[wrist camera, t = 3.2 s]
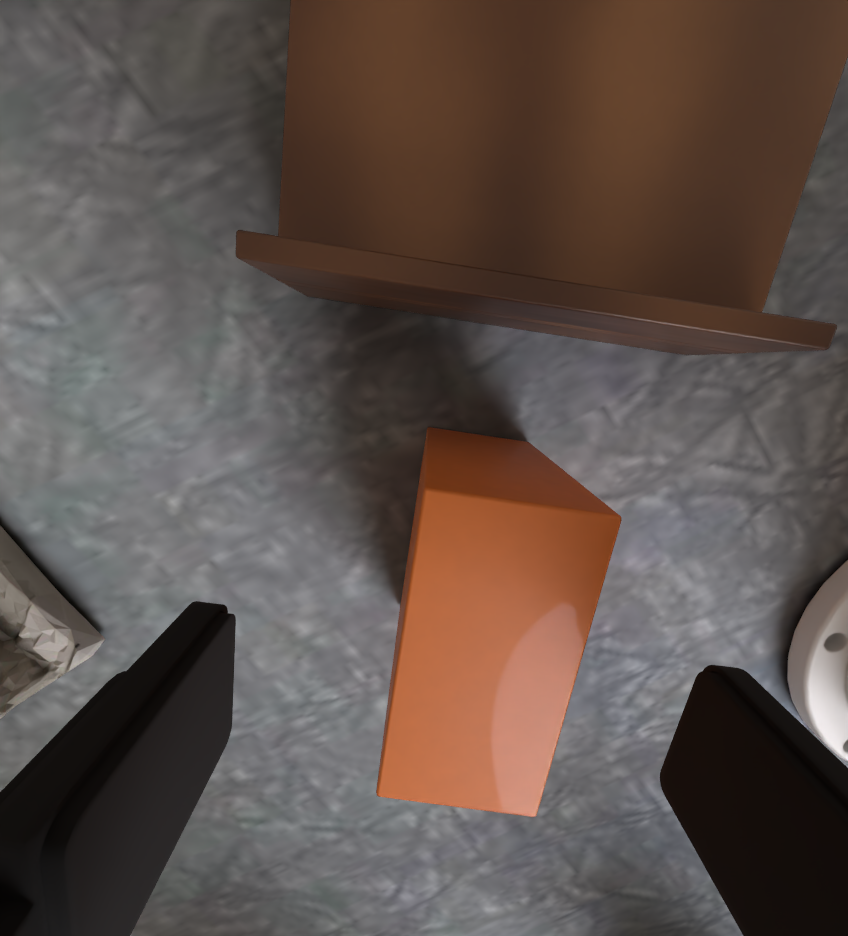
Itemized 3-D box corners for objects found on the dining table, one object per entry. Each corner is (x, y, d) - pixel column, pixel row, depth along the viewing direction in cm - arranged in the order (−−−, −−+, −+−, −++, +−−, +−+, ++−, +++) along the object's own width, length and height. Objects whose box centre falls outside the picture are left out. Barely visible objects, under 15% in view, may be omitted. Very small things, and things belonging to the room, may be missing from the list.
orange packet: (529, 441, 16) (623, 516, 8) (490, 620, 18) (537, 819, 10) (427, 426, 16) (423, 487, 8) (400, 607, 18) (375, 797, 10)
